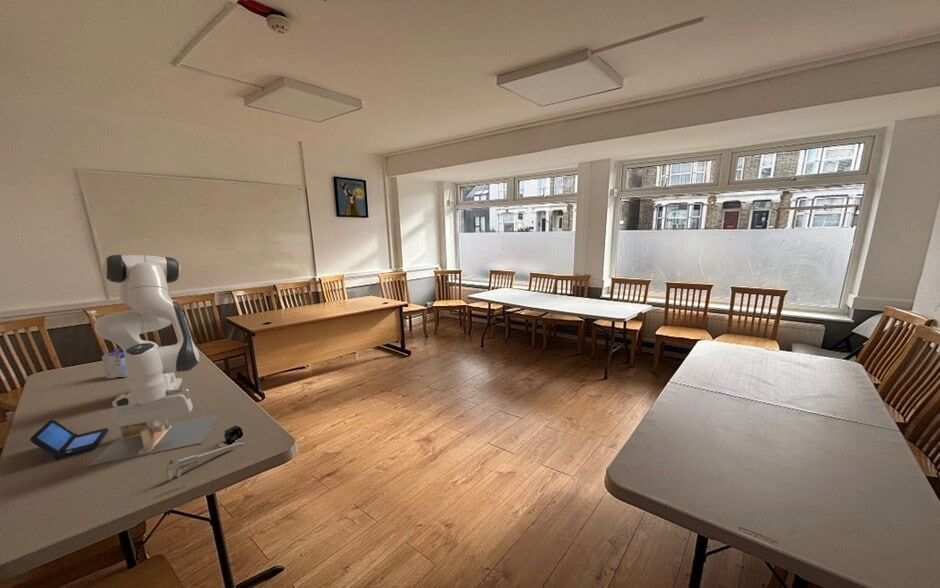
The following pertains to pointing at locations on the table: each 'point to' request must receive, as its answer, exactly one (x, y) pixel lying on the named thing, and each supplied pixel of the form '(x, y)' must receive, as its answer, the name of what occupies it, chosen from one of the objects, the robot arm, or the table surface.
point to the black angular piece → (232, 434)
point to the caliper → (195, 460)
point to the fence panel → (150, 436)
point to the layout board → (160, 440)
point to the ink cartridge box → (114, 364)
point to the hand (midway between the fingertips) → (158, 431)
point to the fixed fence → (137, 429)
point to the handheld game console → (66, 440)
